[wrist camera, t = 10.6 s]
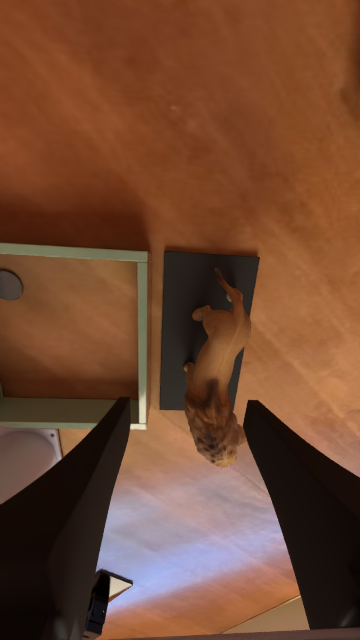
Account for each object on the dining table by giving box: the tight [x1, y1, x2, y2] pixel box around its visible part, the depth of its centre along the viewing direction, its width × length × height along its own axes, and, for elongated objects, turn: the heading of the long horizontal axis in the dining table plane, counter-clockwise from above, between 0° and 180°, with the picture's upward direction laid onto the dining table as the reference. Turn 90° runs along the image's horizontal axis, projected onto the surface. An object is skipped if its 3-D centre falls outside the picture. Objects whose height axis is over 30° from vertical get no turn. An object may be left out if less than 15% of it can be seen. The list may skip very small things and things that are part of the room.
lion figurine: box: [184, 268, 251, 468], centre depth 16 cm, size 15×5×9 cm, turn 178°
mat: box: [160, 251, 260, 411], centre depth 21 cm, size 18×9×1 cm, turn 177°
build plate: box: [82, 570, 133, 640], centre depth 33 cm, size 12×7×5 cm, turn 138°
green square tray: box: [0, 243, 152, 430], centre depth 19 cm, size 18×18×4 cm
